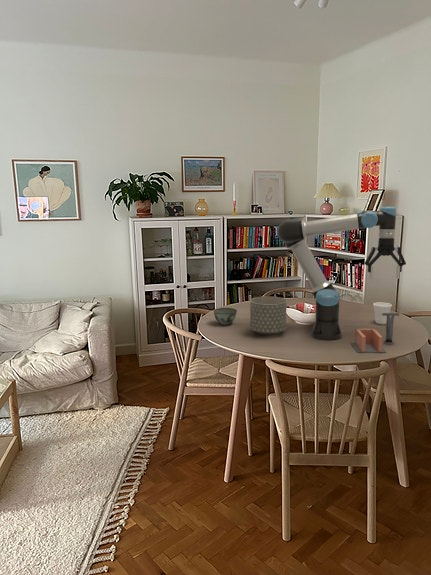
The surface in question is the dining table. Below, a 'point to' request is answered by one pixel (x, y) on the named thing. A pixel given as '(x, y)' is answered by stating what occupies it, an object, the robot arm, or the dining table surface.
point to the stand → (389, 327)
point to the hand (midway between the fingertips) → (384, 278)
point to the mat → (367, 348)
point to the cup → (380, 309)
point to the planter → (268, 315)
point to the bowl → (225, 315)
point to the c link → (368, 339)
